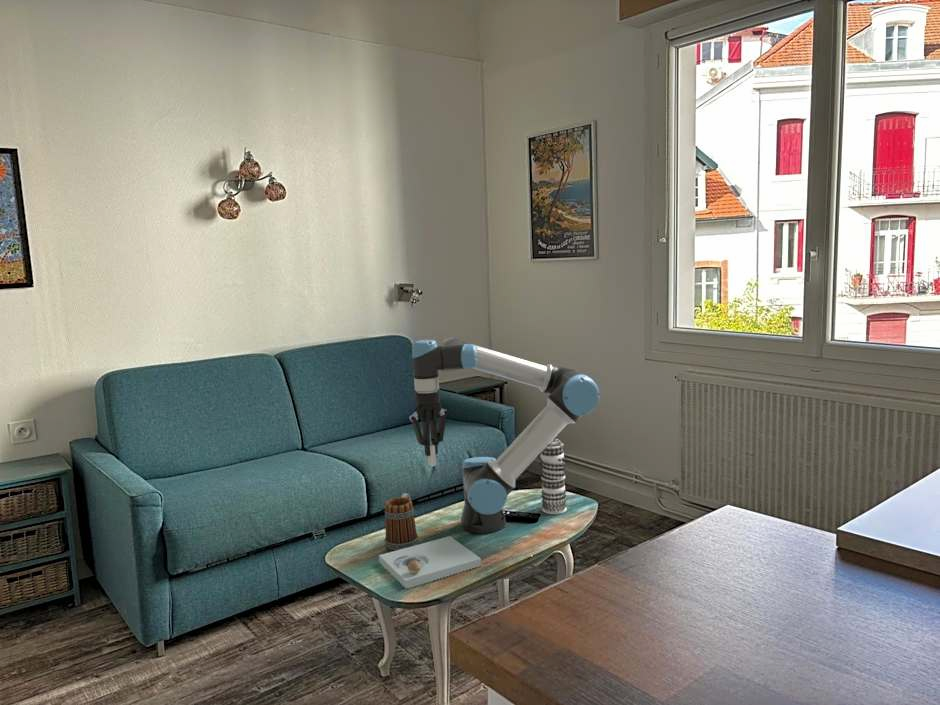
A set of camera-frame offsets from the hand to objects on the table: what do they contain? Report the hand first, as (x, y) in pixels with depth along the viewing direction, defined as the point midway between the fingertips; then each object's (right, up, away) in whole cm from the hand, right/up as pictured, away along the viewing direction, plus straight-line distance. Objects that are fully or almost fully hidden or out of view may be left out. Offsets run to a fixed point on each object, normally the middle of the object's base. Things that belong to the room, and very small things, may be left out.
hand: (432, 465), depth 224 cm
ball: (-5, -27, -12) cm, 30 cm away
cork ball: (-4, -26, -20) cm, 33 cm away
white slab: (0, -28, -9) cm, 30 cm away
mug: (-9, -26, +7) cm, 29 cm away
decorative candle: (+41, -20, +28) cm, 54 cm away
